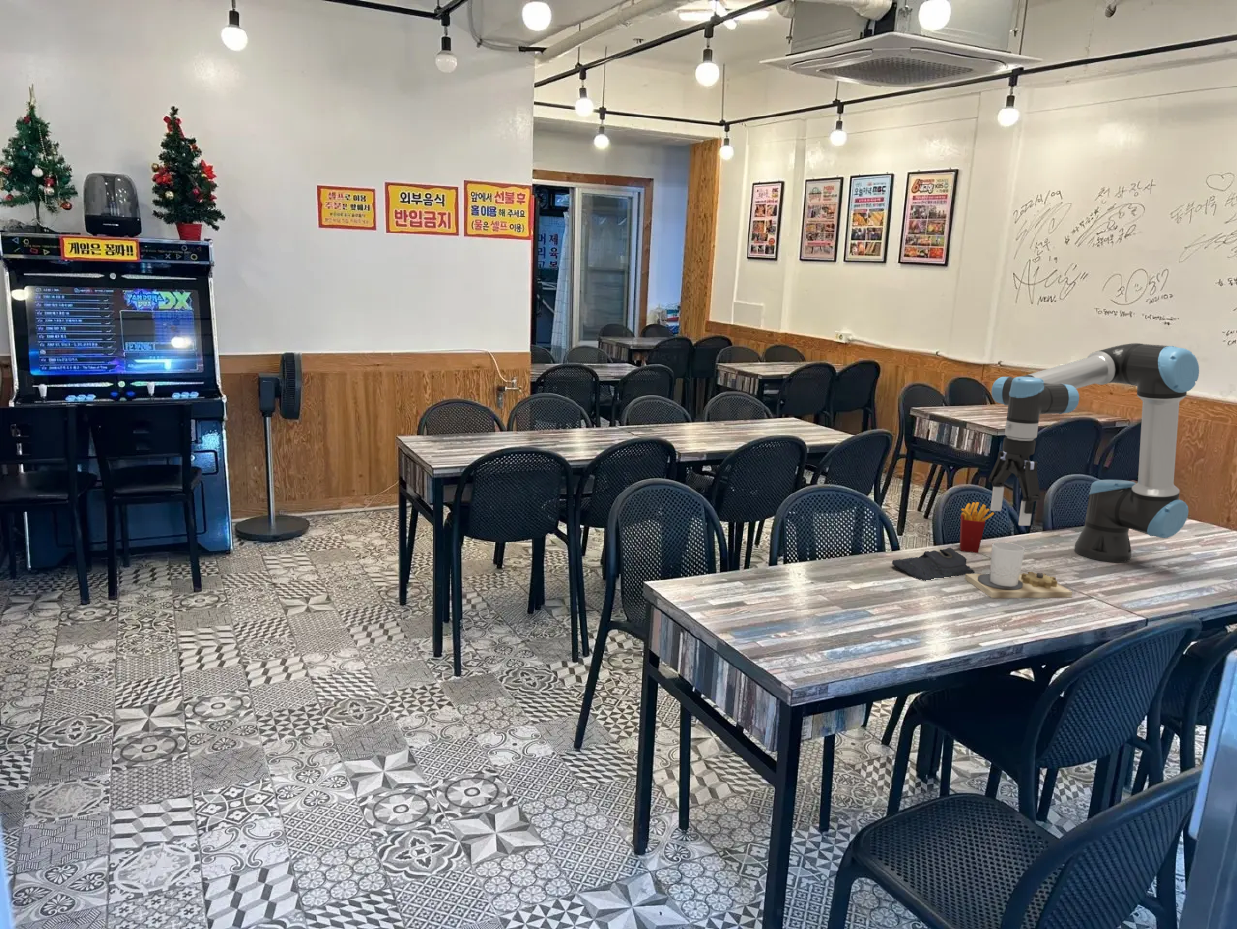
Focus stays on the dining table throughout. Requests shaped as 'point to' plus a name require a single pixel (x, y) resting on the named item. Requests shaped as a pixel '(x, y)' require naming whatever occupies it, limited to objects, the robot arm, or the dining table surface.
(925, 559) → the dark slate chunk
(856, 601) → the dining table surface
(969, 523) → the french fries
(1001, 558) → the white cup
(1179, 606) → the dining table surface
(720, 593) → the dining table surface
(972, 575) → the gear board
